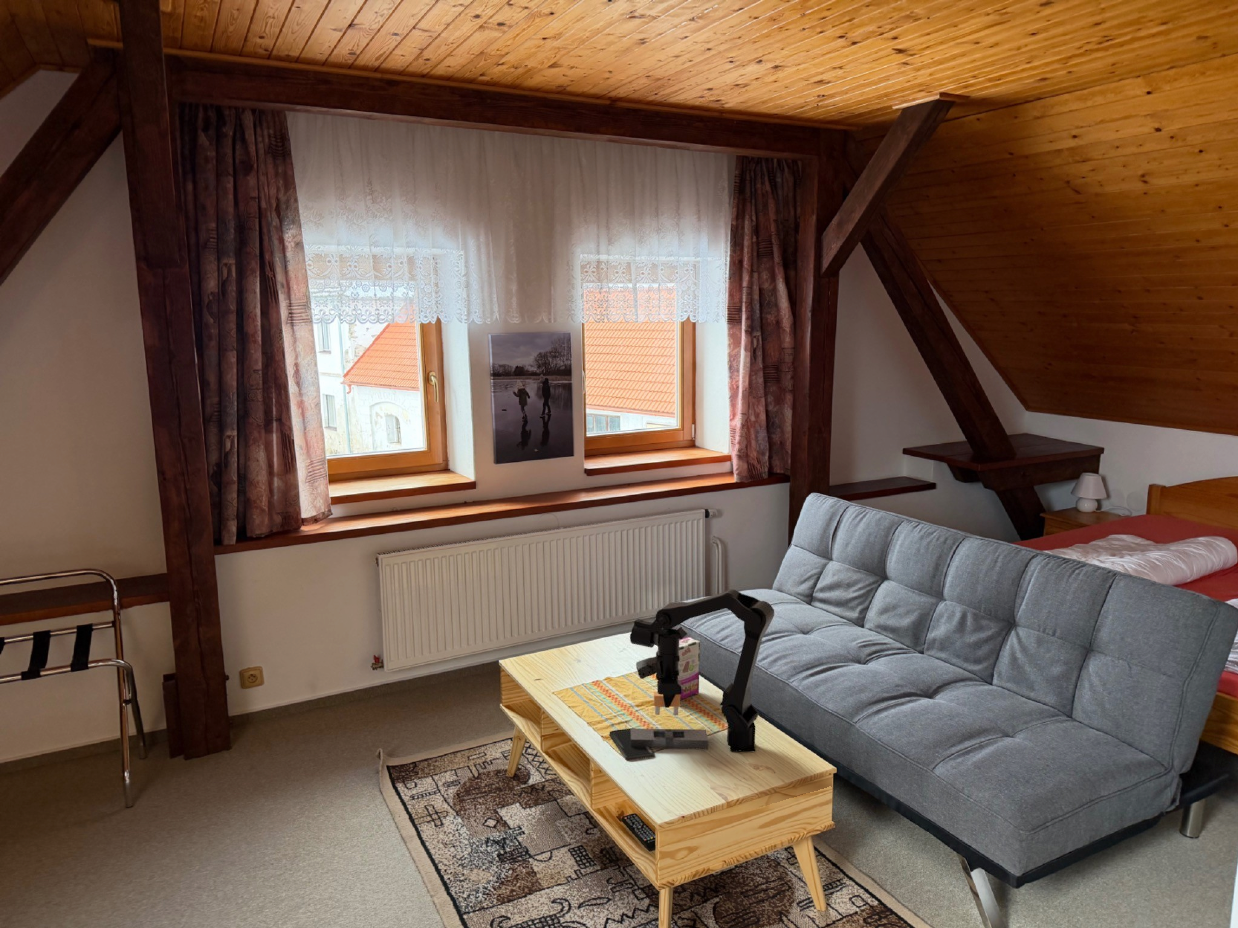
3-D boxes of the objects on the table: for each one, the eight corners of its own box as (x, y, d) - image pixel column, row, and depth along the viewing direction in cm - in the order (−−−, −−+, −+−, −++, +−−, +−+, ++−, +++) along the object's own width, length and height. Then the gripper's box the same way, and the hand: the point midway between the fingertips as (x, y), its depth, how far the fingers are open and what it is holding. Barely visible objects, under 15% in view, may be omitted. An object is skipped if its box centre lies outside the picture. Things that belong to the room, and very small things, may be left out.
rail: (705, 738, 238) (705, 729, 237) (708, 749, 232) (708, 740, 231) (630, 737, 237) (630, 728, 237) (630, 748, 231) (630, 739, 231)
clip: (679, 711, 244) (679, 692, 243) (679, 715, 242) (680, 696, 241) (653, 710, 244) (653, 692, 243) (653, 714, 241) (654, 695, 240)
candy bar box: (687, 687, 268) (689, 635, 266) (699, 693, 265) (701, 641, 262) (659, 697, 261) (661, 644, 259) (671, 703, 258) (673, 649, 255)
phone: (635, 727, 241) (655, 753, 227) (635, 731, 242) (655, 757, 228) (607, 731, 239) (626, 758, 225) (607, 735, 239) (625, 762, 225)
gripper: (637, 637, 249) (636, 689, 251) (639, 663, 230) (637, 720, 233) (677, 637, 249) (675, 690, 251) (682, 664, 230) (680, 721, 233)
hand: (666, 704), depth 242 cm, fingers closed on clip, 2 cm apart
